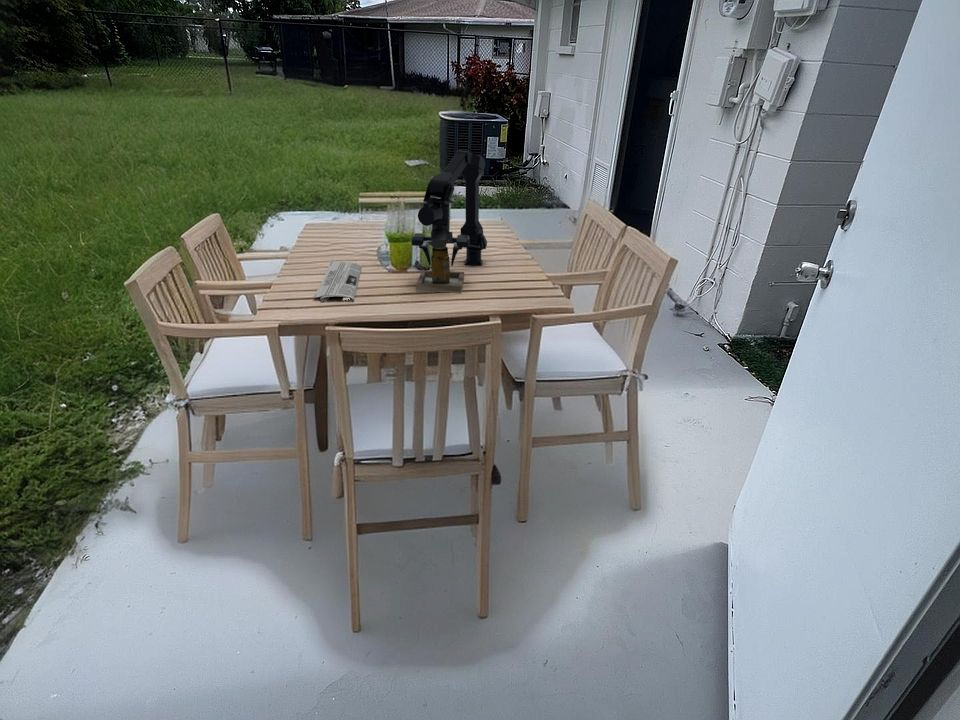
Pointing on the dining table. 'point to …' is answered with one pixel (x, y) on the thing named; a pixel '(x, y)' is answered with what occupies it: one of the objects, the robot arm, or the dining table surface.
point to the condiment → (440, 266)
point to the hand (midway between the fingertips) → (440, 265)
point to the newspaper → (339, 280)
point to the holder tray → (428, 287)
